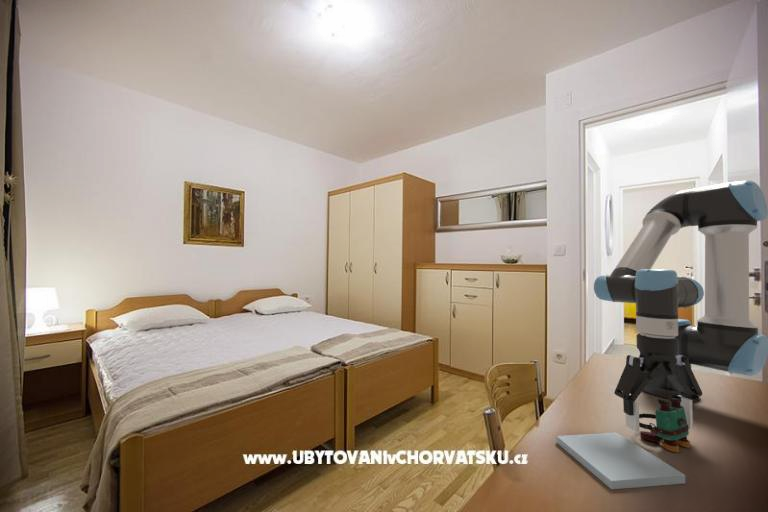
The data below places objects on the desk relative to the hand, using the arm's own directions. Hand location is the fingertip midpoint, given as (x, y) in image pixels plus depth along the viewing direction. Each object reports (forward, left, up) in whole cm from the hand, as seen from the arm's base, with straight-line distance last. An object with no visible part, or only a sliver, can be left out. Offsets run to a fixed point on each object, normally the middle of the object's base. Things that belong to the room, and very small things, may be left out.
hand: (659, 427), depth 72 cm
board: (+17, +6, -3) cm, 18 cm away
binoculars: (0, 0, -3) cm, 3 cm away
